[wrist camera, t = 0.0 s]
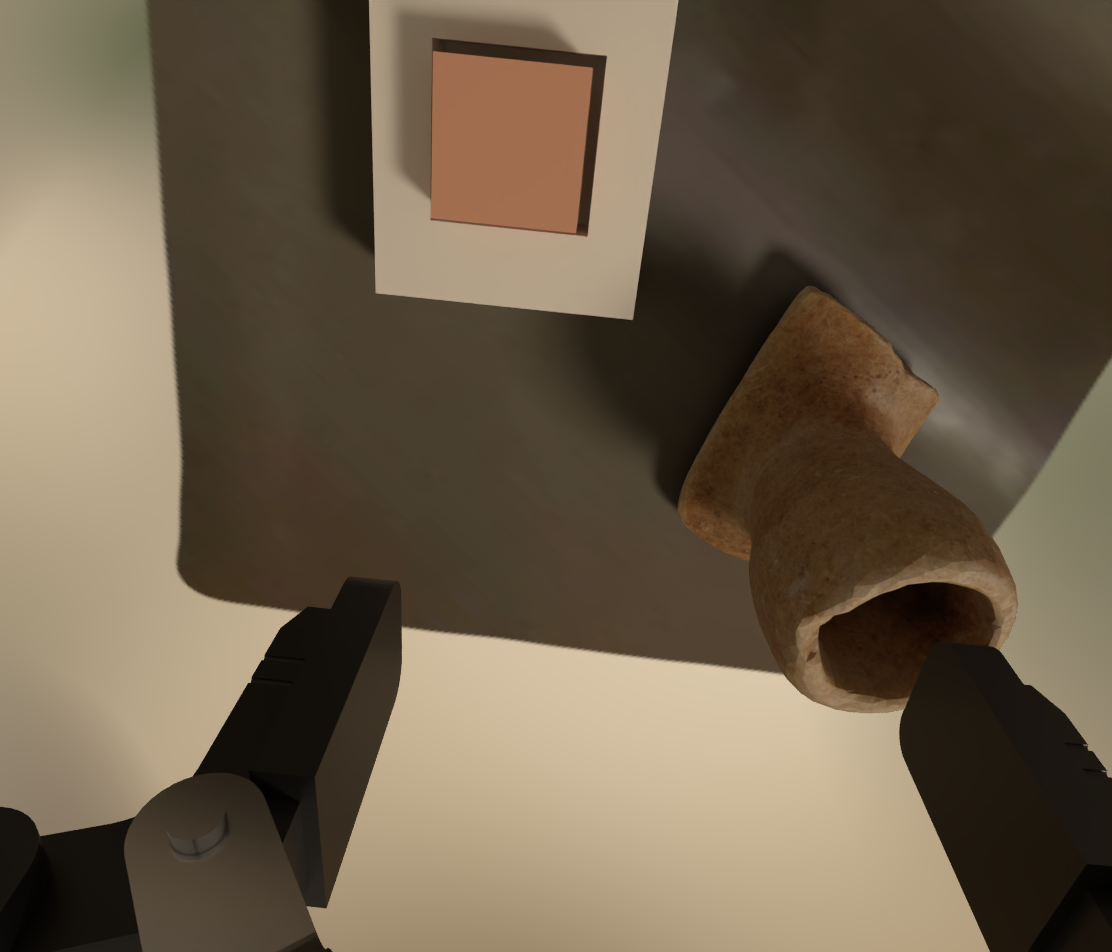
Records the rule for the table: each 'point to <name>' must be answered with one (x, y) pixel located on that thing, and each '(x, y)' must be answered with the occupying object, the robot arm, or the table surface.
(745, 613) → the table surface
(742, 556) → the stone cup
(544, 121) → the terracotta key
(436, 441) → the table surface
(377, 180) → the key console
